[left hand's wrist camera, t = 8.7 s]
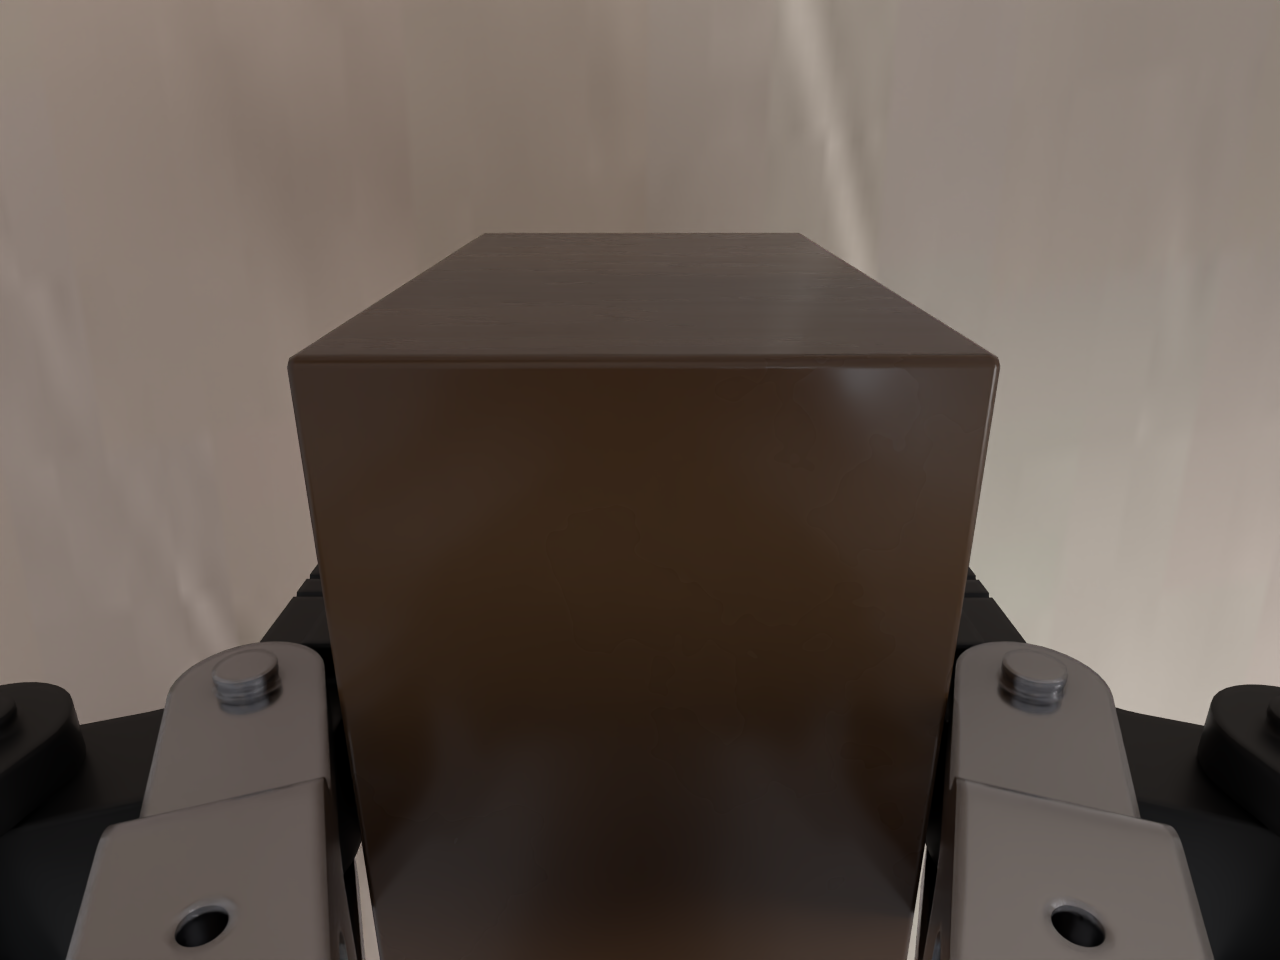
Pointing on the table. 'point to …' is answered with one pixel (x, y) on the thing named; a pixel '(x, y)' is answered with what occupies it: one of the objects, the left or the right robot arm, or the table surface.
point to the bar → (643, 594)
